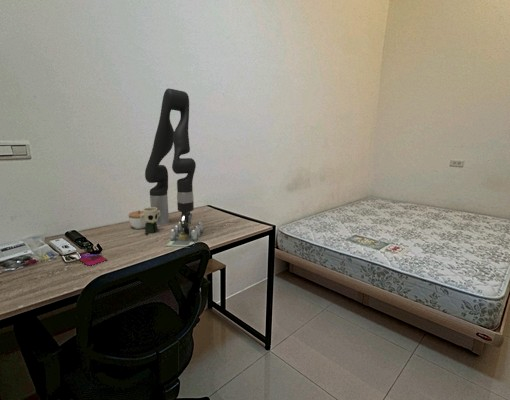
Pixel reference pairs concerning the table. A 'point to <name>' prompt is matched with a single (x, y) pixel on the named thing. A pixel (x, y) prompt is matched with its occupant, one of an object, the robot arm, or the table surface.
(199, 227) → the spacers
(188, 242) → the mat
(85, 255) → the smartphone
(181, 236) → the nut
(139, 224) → the lidded jar
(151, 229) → the character mug
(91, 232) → the table surface
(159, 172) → the robot arm
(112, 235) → the table surface
